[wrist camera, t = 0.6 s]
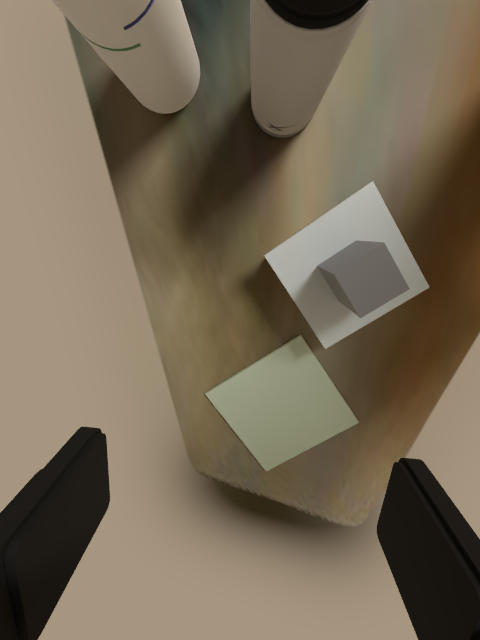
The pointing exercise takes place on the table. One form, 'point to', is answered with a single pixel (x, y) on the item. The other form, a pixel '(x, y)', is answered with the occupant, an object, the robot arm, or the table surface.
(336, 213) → the lid
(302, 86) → the travel mug
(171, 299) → the table surface
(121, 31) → the cylindrical container
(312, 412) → the mat
